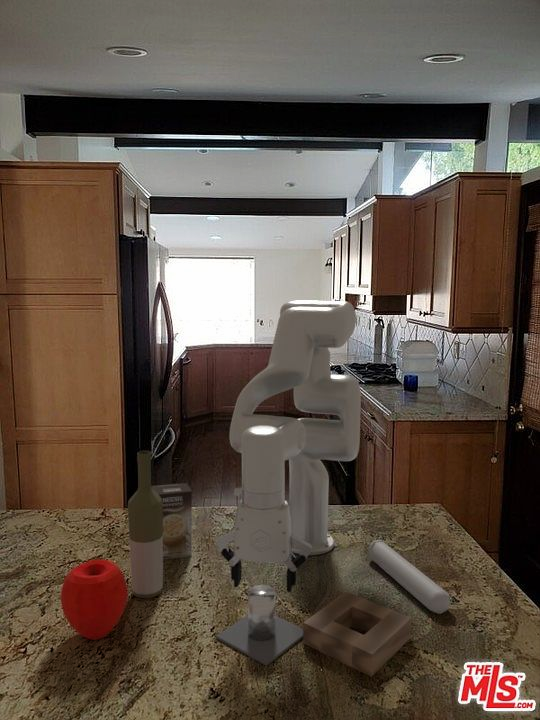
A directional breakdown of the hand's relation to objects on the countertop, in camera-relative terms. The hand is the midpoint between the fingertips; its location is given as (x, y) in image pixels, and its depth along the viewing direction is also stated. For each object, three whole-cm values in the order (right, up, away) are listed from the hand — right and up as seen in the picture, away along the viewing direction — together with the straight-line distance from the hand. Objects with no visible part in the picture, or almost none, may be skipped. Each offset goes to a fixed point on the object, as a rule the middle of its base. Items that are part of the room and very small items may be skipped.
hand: (263, 585), depth 107 cm
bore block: (+17, -10, -1) cm, 19 cm away
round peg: (0, -9, +1) cm, 9 cm away
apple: (-31, -9, +1) cm, 32 cm away
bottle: (-24, -8, +15) cm, 30 cm away
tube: (+31, -8, +19) cm, 37 cm away
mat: (0, -9, +1) cm, 9 cm away
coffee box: (-22, -5, +33) cm, 40 cm away
